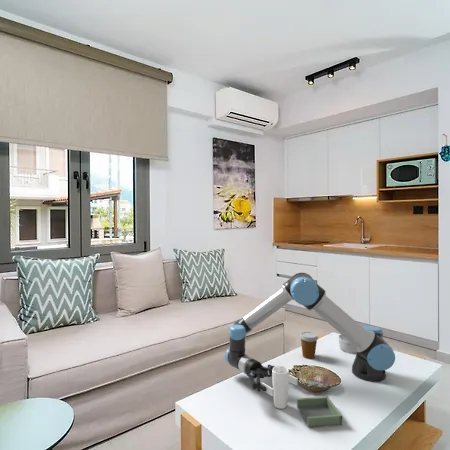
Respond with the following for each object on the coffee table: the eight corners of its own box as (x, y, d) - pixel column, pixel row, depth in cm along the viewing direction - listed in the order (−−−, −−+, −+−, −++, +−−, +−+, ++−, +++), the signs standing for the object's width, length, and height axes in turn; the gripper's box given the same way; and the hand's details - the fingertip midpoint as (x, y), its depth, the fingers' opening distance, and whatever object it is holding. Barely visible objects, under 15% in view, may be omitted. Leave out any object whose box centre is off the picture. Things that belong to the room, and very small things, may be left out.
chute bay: (327, 404, 136) (327, 396, 136) (342, 425, 123) (342, 415, 123) (296, 406, 135) (296, 398, 135) (308, 427, 122) (308, 418, 122)
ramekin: (366, 349, 191) (366, 337, 190) (357, 356, 181) (357, 344, 181) (344, 343, 200) (344, 331, 199) (334, 349, 190) (334, 337, 190)
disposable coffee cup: (318, 360, 176) (318, 338, 175) (299, 359, 178) (300, 337, 177) (317, 353, 185) (317, 332, 185) (299, 351, 187) (299, 330, 187)
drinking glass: (270, 401, 139) (270, 366, 138) (286, 400, 139) (286, 365, 139) (273, 411, 132) (274, 374, 131) (290, 410, 133) (291, 373, 132)
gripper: (270, 367, 158) (305, 386, 141) (228, 383, 143) (262, 407, 126) (270, 351, 157) (306, 369, 140) (228, 366, 143) (262, 387, 125)
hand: (285, 387), depth 133 cm, fingers open, 13 cm apart
